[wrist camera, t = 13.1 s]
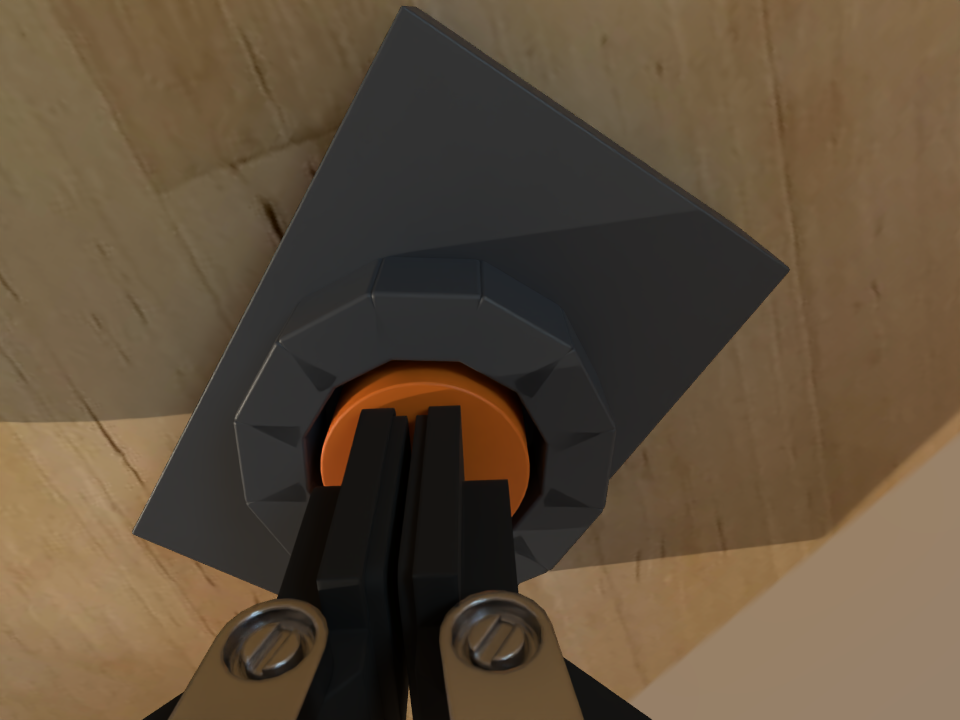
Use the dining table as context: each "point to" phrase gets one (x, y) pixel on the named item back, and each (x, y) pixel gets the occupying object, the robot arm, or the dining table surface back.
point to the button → (411, 390)
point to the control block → (460, 303)
